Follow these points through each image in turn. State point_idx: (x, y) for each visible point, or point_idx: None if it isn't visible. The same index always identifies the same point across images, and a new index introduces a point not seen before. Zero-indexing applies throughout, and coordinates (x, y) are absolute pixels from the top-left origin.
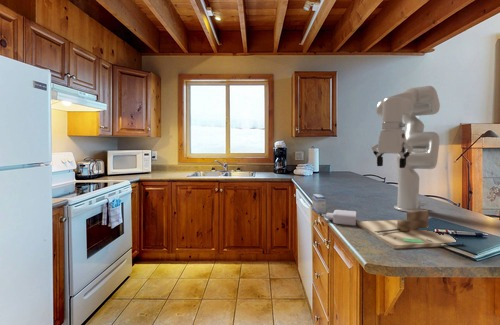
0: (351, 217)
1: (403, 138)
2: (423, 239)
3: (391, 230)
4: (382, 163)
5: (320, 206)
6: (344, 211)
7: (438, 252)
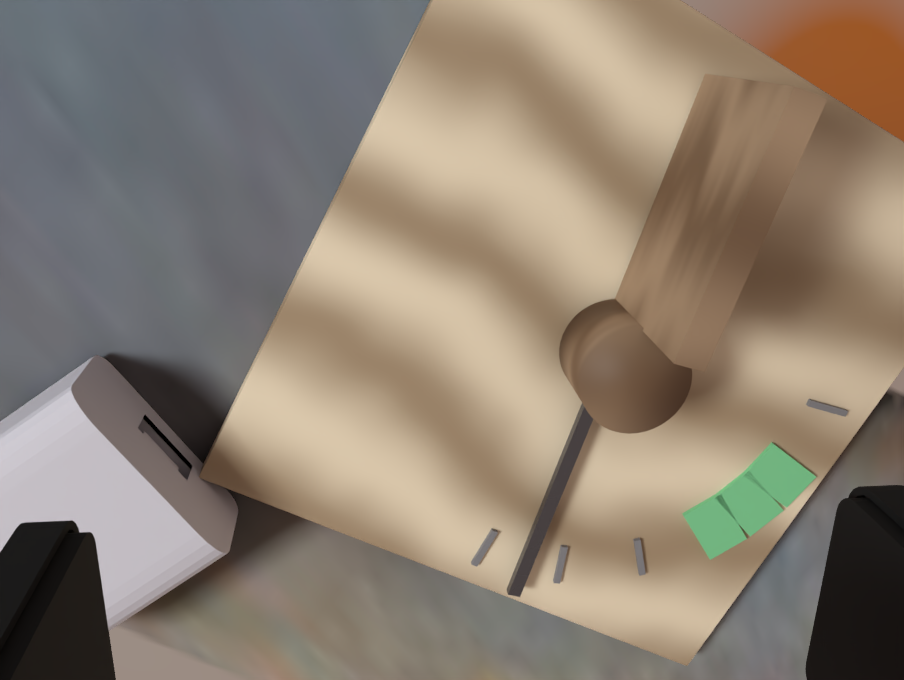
0: (195, 573)
1: None
2: (788, 415)
3: (567, 478)
4: (67, 594)
5: None
6: None
7: (887, 484)
